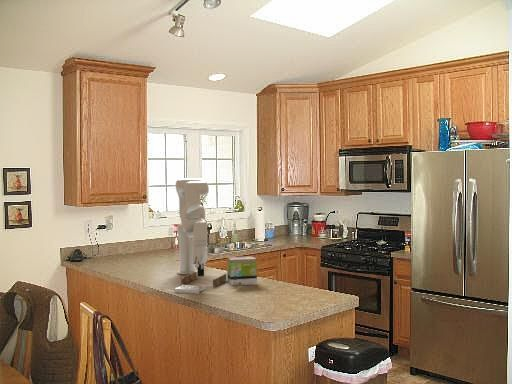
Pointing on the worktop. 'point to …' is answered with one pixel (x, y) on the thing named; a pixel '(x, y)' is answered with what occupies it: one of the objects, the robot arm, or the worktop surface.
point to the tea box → (242, 270)
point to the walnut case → (193, 280)
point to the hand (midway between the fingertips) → (200, 275)
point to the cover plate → (190, 289)
